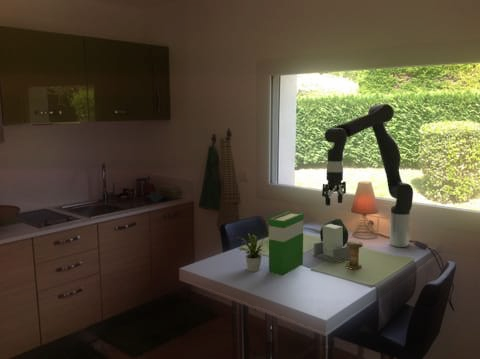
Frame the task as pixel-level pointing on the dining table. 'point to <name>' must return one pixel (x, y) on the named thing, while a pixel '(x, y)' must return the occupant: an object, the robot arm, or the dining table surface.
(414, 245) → the dining table surface
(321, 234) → the squash
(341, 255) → the notch cradle
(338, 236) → the skincare box
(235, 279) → the dining table surface
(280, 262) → the hardback book
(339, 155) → the robot arm
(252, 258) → the house plant
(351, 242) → the bobbin
